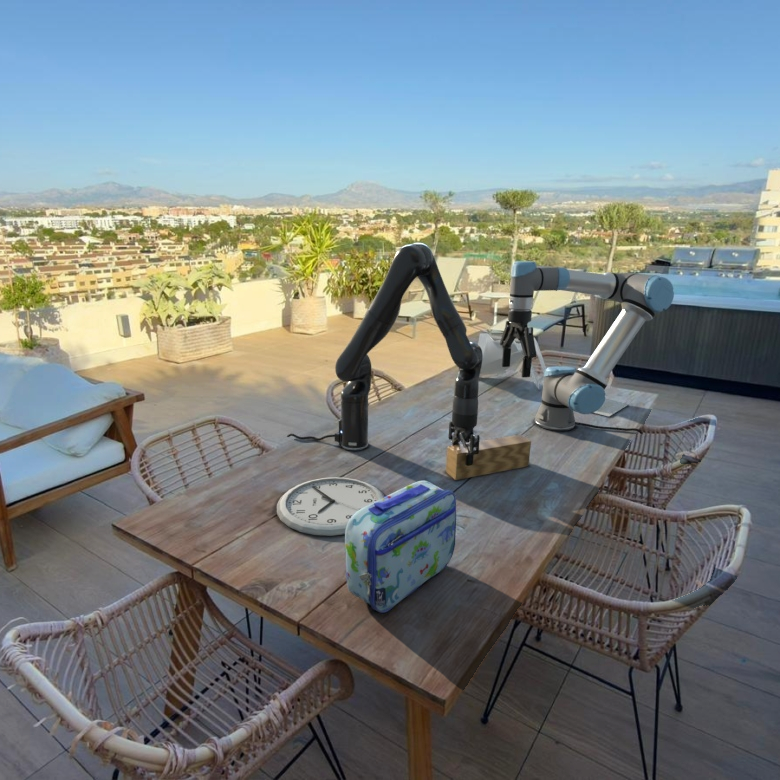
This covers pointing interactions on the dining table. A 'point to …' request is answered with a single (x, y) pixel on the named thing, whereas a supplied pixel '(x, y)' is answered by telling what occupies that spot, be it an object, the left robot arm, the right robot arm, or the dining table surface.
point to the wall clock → (325, 504)
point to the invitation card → (610, 408)
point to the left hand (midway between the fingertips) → (462, 459)
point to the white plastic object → (495, 354)
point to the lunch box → (399, 543)
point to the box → (489, 457)
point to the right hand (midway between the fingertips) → (515, 371)
